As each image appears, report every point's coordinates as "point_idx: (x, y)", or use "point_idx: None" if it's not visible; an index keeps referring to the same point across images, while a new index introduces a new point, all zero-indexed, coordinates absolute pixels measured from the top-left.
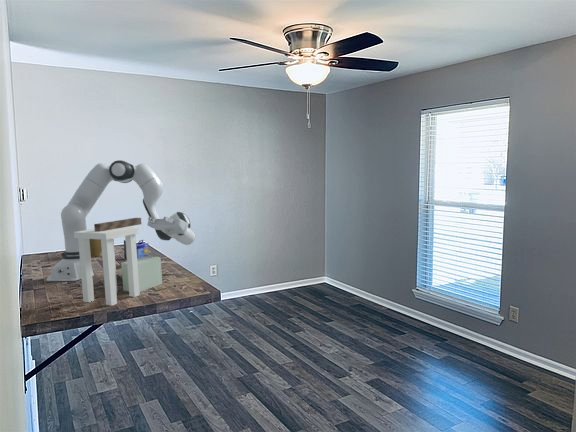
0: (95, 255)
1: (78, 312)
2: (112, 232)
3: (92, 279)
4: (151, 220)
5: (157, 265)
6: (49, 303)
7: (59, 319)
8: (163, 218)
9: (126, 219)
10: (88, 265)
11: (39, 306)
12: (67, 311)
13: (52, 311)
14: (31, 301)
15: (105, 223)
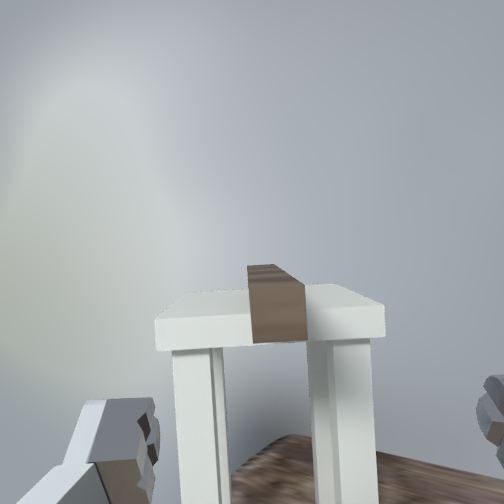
0: None
1: (257, 486)
2: (182, 296)
3: (317, 471)
4: (496, 455)
5: None
6: (425, 495)
7: (255, 457)
8: (154, 417)
9: (275, 276)
10: (312, 411)
11: (414, 477)
12: (294, 482)
13: None
14: (500, 487)
15: (247, 267)
